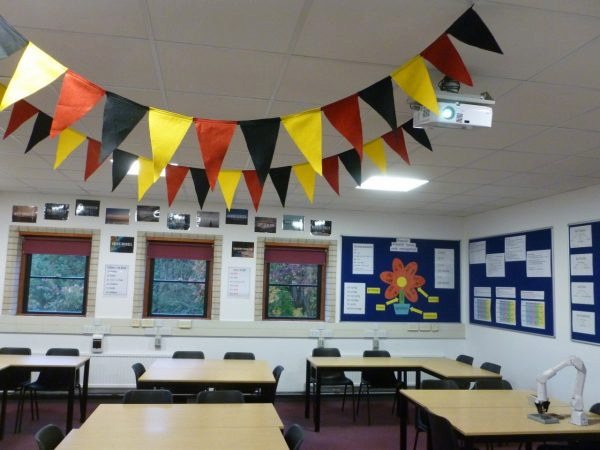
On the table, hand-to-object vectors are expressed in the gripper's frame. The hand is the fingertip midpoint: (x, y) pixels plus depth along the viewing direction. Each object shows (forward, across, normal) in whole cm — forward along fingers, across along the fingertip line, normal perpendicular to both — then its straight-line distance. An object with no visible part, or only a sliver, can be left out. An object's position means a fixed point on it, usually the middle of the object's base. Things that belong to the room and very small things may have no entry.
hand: (542, 412), depth 331 cm
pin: (+4, 0, 0) cm, 4 cm away
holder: (+5, -13, 0) cm, 14 cm away
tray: (+5, 0, 0) cm, 5 cm away
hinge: (+5, -36, -23) cm, 43 cm away
